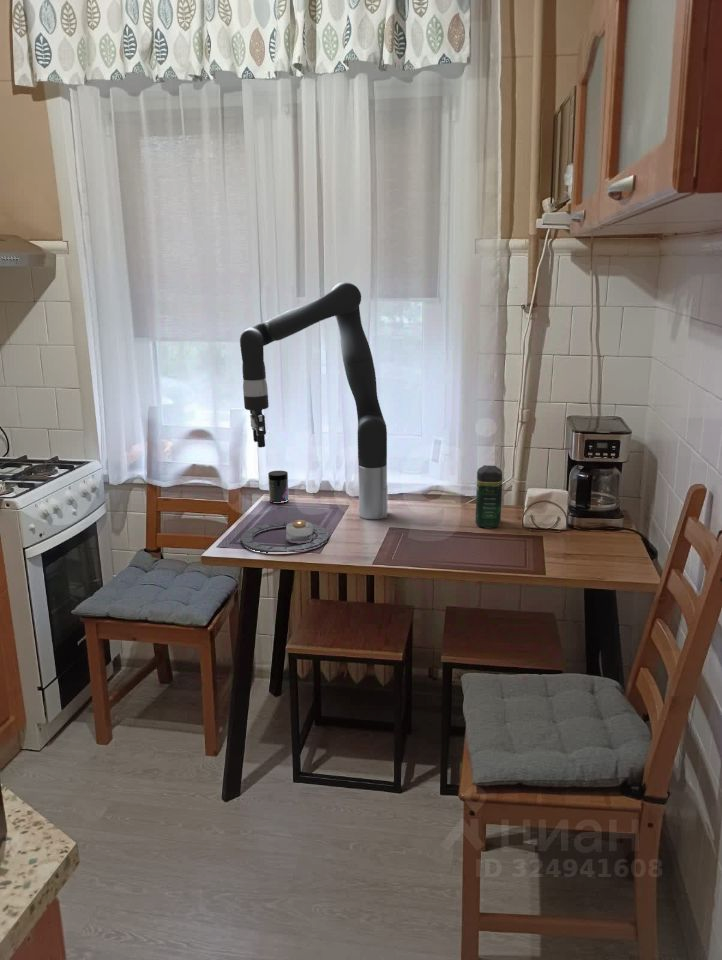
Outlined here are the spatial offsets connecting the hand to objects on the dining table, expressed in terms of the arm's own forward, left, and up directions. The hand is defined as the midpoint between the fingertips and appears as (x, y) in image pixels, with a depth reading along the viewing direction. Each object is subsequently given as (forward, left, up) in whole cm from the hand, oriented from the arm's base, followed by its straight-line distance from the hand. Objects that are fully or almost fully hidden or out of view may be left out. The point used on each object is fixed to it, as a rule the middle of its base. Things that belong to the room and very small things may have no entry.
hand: (259, 444), depth 250 cm
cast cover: (-15, +17, -26) cm, 34 cm away
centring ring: (-10, +17, -25) cm, 32 cm away
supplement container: (-1, -21, -26) cm, 33 cm away
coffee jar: (-72, 0, -26) cm, 77 cm away
